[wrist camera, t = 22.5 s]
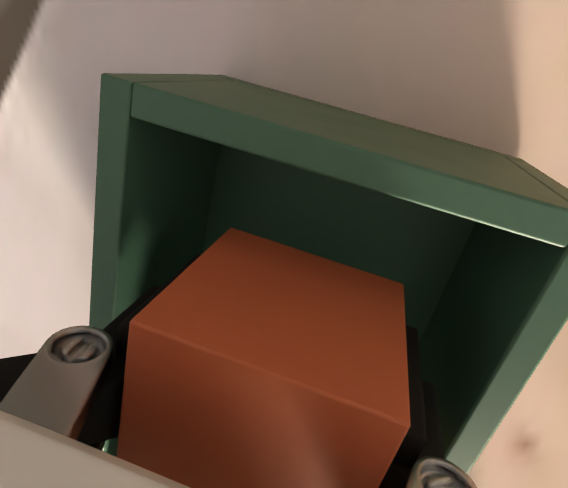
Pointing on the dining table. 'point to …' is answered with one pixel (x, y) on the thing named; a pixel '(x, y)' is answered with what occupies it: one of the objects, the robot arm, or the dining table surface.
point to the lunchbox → (339, 223)
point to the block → (267, 372)
